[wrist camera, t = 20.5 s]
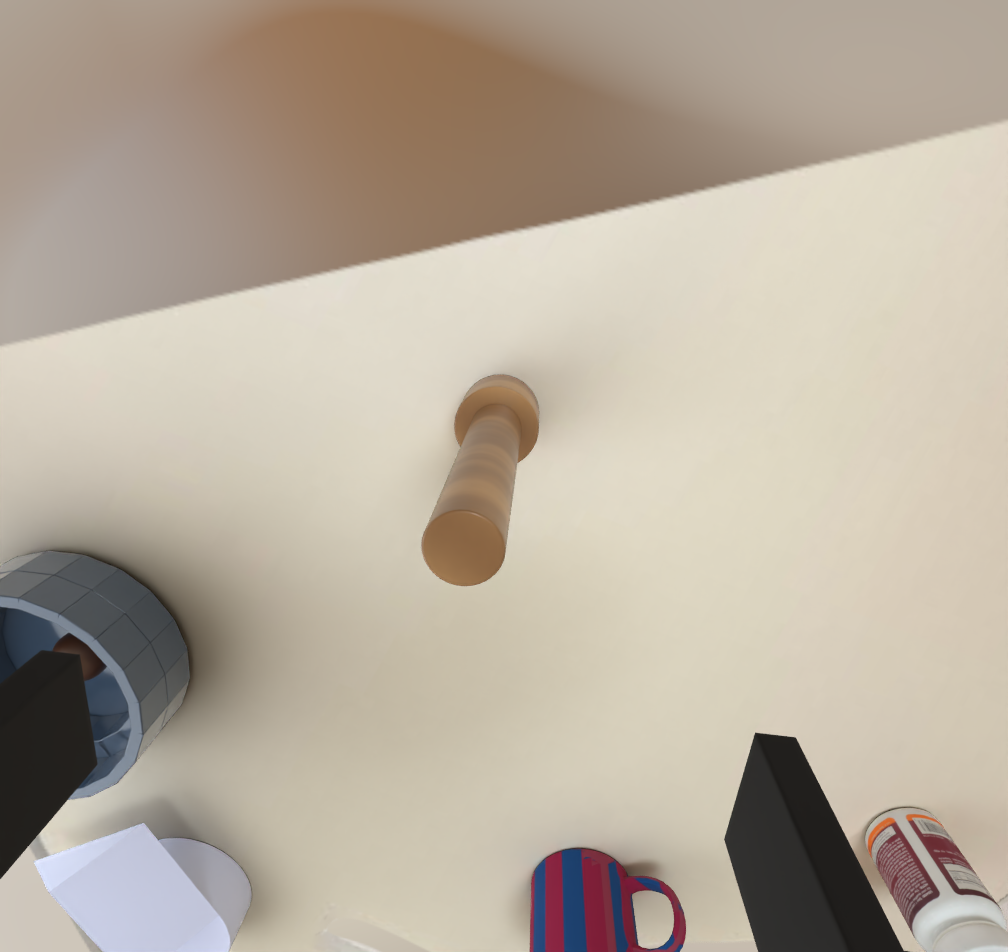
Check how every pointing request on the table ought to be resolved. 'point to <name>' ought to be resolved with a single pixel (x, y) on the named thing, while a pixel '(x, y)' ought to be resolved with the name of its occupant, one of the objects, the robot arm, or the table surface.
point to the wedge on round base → (150, 892)
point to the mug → (592, 905)
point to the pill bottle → (934, 884)
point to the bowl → (98, 649)
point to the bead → (81, 655)
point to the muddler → (481, 481)
